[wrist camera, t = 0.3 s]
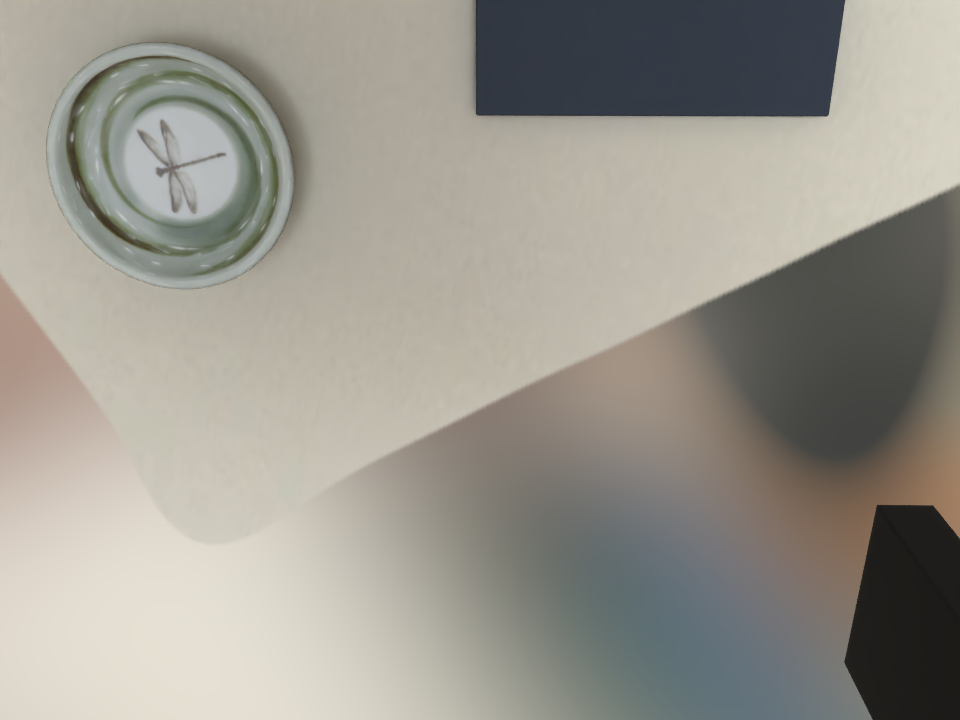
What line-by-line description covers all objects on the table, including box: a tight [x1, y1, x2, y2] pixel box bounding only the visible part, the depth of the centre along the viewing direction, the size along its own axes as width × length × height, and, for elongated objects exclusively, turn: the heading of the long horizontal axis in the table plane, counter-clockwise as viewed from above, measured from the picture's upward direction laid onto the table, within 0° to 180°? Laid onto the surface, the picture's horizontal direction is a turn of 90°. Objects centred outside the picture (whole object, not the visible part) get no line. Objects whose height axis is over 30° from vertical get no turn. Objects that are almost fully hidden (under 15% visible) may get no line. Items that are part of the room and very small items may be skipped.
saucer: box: [46, 42, 294, 289], centre depth 37 cm, size 10×10×2 cm
